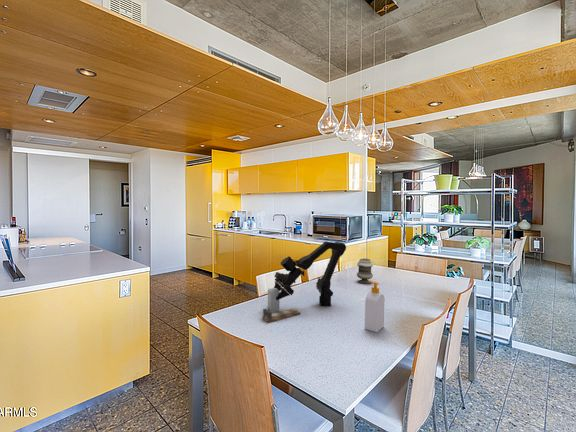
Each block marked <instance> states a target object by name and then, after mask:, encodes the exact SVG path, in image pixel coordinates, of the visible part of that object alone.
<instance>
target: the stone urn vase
mask: <svg viewBox="0 0 576 432" xmlns="http://www.w3.org/2000/svg"><path fill="white" fill-rule="evenodd" d="M356 265H357V267H358V272H357V273H356V277H357V278H359V280H357V282H358V283H359V284H364V285H370V284H371V282H370V280H371V279H372V278H373V276H374V274H373V273H372V267H373V266H374V264H373V262H372V260H371V259H370V258H365V257H364V258H359V260H358V262H357V264H356ZM368 282H370V283H368Z"/></svg>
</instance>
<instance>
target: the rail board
mask: <svg viewBox="0 0 576 432" xmlns="http://www.w3.org/2000/svg"><path fill="white" fill-rule="evenodd" d="M301 314H302V313H301V312H300V311H299V309H298V308H297V307H295V308H288V309H285V310H281V311H279V312H277V313H272V312H271V311H270V310H268V308H263V309H262V319H263V320H265V321H266V322H268V323H274V322H277V321H280V320H284V319H288V318H292V317H295V316H299V315H301Z"/></svg>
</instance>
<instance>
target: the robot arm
mask: <svg viewBox="0 0 576 432" xmlns="http://www.w3.org/2000/svg"><path fill="white" fill-rule="evenodd" d="M328 250H331V255H330V259H329V261H328V263H327V266H326V268H325V270H324V274H323V275H322V277H321V278H320V277H318V278H317V282H316V283H315V284H316V286H315V287H316V290H317V291H318V293H319V298H318V299H319V301H318V304H319V306H320V307H332V296H334V292H333V290H332V289H331V279H332V277H333V274H334V272H335V269H336V267H337V264H338V262H339V260H340V258H341V257H342V256H343V255H344V253H345V251H346V250H347V246H346V244H345V243H343V242H340V241H334V242H331V241H326V240H325V241H323V243H321V244H320V245H319V246H318V247H317V248H315V249H314V250H313V251H312V252H310V253H309V254H306V255H305V256H301V258H299V259H297V260H294V259H292V257H291V256H287V257H285V258H283V259H282V260H281V262H280V265H281V266H282V267H283V269H284V270H285V271H287V272H288V273H283V272H282V273H280V272H278V271H276V272H275V274H274V286H273V288H277V289H278V290H279V291H280V293H279V294H278V296H277V297H276V300H279V301H280V300H281V299H283V298H286V297H288V296H293V294H294V292H295V291H294V289H293V288H292V287H291V286H292V285H293V284H296V281H297V279H299V277H301V276H303V277H305V276H306V275H305V271H306V270H308V269H309V268H310V267H312V265H313V263H314V262H315V261H316V260H317V259H318V258H319V257H321V256H322V255H323V254H324V253H325V252H327V251H328Z"/></svg>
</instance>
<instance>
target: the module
mask: <svg viewBox="0 0 576 432" xmlns="http://www.w3.org/2000/svg"><path fill="white" fill-rule="evenodd" d="M280 292H281V290H280V291H279V290H278V289H277V288H274V287H273V288H268V289H267V310H269V311H271V312H272V314H274V313H277V312H280V299H279V300H276V297H277V296H278V294H279V293H280Z"/></svg>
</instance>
